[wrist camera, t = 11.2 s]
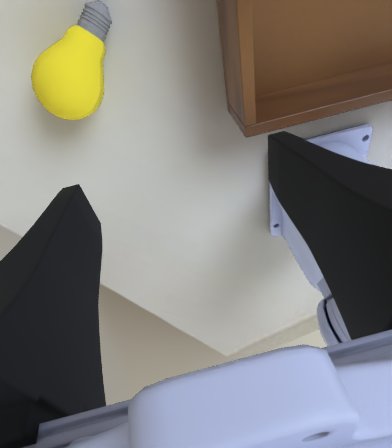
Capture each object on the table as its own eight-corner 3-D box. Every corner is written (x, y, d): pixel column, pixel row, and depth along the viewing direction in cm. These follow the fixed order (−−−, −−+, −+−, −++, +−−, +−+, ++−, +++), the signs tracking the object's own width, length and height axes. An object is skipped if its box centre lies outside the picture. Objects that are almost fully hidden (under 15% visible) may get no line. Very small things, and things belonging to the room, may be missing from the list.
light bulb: (39, 100, 18) (8, 96, 15) (80, -4, 17) (56, -35, 13) (93, 130, 19) (76, 133, 15) (137, 33, 17) (129, 13, 14)
